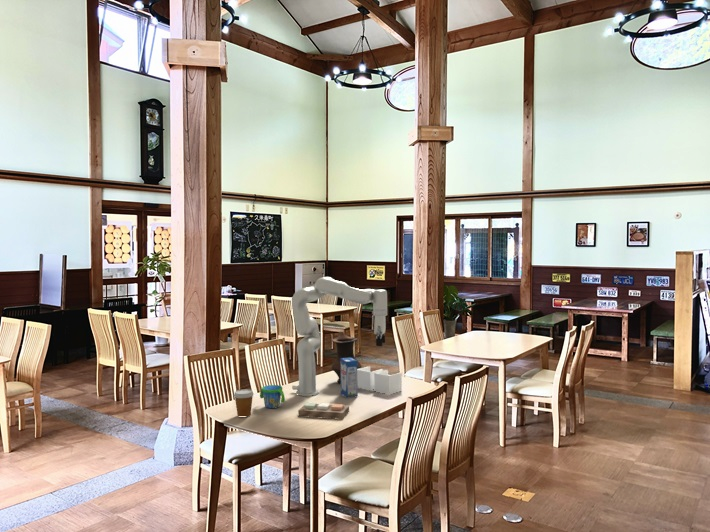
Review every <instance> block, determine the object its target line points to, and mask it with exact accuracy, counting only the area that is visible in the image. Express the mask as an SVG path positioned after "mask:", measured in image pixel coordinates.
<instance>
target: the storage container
mask: <svg viewBox="0 0 710 532" xmlns="http://www.w3.org/2000/svg"><path fill="white" fill-rule="evenodd" d="M402 375H403V374H402V371H399V372H398V373H393V374H389V369H384V368H380V369H377V370H373V371H371V366H366V367H365V366H364V367H361V368H360V369H357V386H358V389H360V388H362V389H361V390H364V389H367V390H366V391H369V390H372V391H376V392H375V393H377V392H380V393H379V394H382V393H385V394H384V395H386V394H392V395H394V394H393V393H395V394H397V393H396V392H398V393H400V392H399V391H401V392H402V390H403V388H402V387H403V386H402V385H403V384H402V382H403V381H402V379H403V378H402ZM373 389H374V390H373Z"/></svg>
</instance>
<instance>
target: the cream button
mask: <svg viewBox="0 0 710 532" xmlns="http://www.w3.org/2000/svg"><path fill="white" fill-rule="evenodd" d="M318 404H319V405H318V409H321V410H328V409H329V408H330V405H331V403H326V402H325V403H324V402H323V403H318Z"/></svg>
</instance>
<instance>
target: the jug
mask: <svg viewBox="0 0 710 532" xmlns="http://www.w3.org/2000/svg"><path fill="white" fill-rule="evenodd" d="M331 341H332V343H333V344H335V345H336V359H335V360H334V361H333V363H332V364H331V367H330V368H331V370H332V371H333V372H334V373H335V374H336V376H337V378H338V379H337V381H336V383H337V384H339V385H341V365H340V358H350V357H351V358H353V359H355V360H357V358H356V357H355V355H354V346H355V342H357V341H358V338H357V337H352V336H348V335H346V333H345V332H344V331H339V332H338V336H337V337H334V338H333V339H332V340H331ZM360 368H363V367H362V365H361V363H360V361H359V360H357V369H360Z"/></svg>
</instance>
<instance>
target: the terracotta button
mask: <svg viewBox="0 0 710 532" xmlns="http://www.w3.org/2000/svg"><path fill="white" fill-rule="evenodd" d="M332 405H333V406H332V407H331V410H339V411H342V410H343V409H344V405H345V404H339V403H334V404H332Z"/></svg>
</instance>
